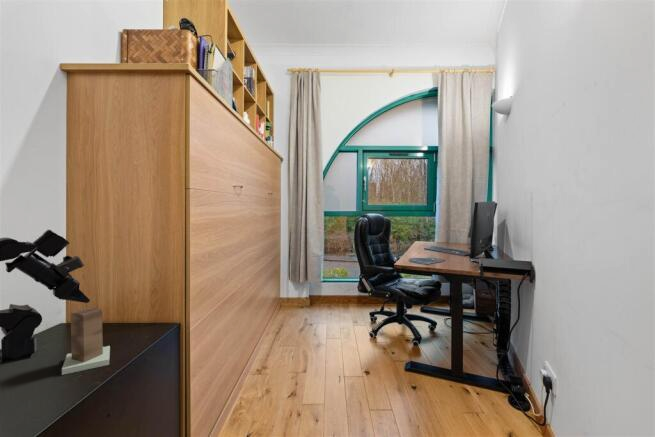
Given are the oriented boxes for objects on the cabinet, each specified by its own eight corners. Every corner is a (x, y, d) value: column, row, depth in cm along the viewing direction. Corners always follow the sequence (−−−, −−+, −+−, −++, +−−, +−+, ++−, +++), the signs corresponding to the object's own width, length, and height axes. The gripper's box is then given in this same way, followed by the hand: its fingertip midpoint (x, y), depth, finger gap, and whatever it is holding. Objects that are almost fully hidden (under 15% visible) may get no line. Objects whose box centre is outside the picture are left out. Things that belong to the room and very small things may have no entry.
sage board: (61, 375, 82) (61, 369, 82) (67, 359, 90) (67, 353, 90) (108, 364, 87) (108, 359, 87) (109, 350, 95) (109, 345, 95)
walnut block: (71, 359, 87) (70, 312, 86) (90, 351, 92) (89, 307, 91) (84, 362, 85) (83, 314, 85) (102, 354, 90) (102, 309, 89)
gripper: (69, 252, 92) (114, 283, 100) (59, 245, 104) (99, 274, 113) (32, 283, 86) (83, 313, 95) (26, 272, 99) (71, 300, 107)
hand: (85, 298), depth 103 cm, fingers open, 9 cm apart
